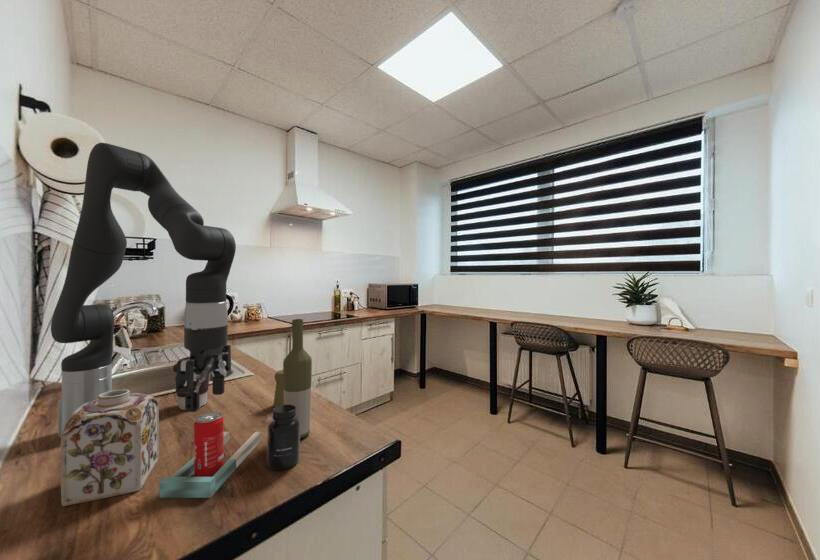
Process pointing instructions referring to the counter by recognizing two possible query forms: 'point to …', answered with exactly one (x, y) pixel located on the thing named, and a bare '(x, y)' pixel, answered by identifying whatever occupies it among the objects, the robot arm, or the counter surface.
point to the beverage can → (208, 444)
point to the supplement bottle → (283, 438)
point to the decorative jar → (109, 446)
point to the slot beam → (204, 486)
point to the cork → (279, 389)
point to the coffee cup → (201, 391)
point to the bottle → (298, 378)
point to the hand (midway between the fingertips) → (206, 402)
